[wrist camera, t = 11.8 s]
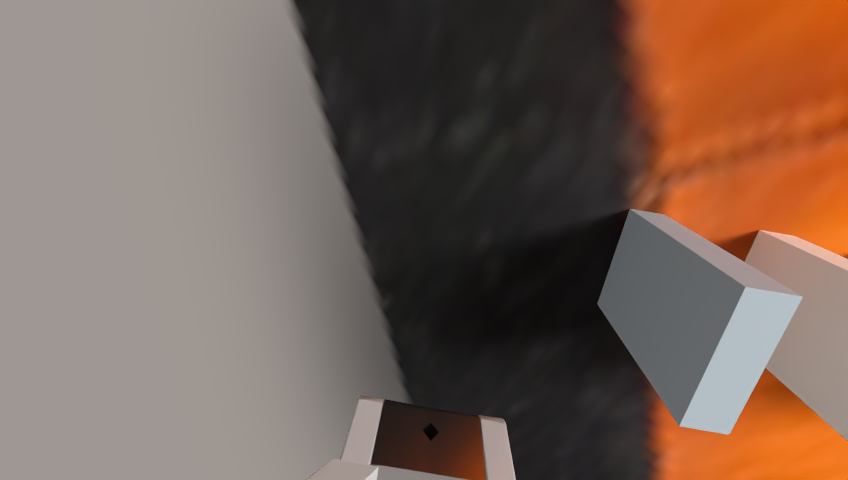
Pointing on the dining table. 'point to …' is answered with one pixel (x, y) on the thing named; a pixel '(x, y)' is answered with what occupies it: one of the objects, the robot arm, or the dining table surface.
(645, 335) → the domino
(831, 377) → the domino
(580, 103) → the dining table surface
